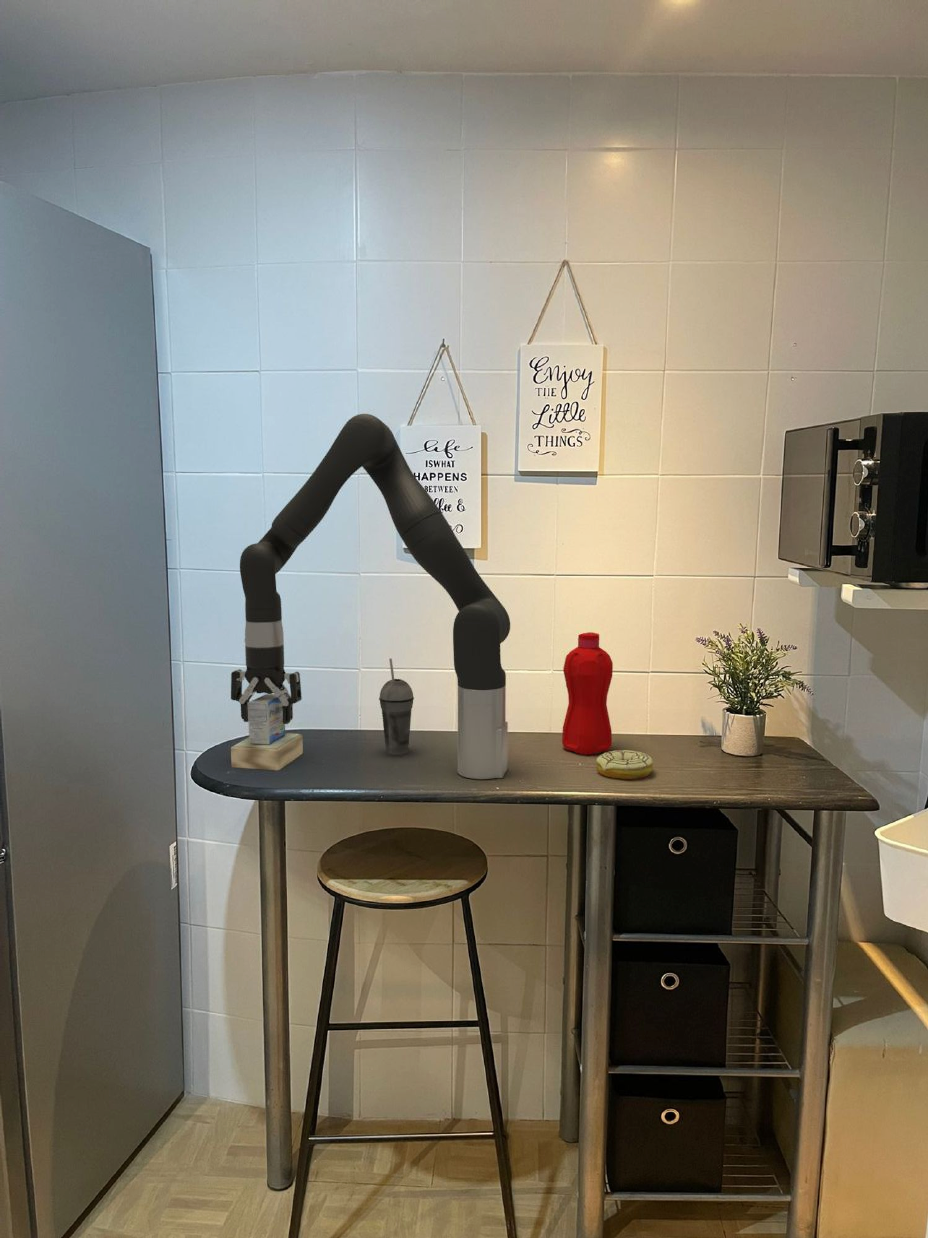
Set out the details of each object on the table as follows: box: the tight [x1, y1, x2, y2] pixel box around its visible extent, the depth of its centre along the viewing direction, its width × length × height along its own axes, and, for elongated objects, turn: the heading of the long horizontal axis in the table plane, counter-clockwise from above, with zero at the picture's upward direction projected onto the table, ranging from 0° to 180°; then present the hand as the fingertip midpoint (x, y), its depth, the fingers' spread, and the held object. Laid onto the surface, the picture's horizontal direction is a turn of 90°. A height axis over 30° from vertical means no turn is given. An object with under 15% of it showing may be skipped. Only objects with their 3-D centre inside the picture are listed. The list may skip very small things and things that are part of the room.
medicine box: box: [247, 693, 286, 745], centre depth 176 cm, size 8×4×9 cm, turn 167°
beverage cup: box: [378, 658, 415, 756], centre depth 182 cm, size 7×7×20 cm
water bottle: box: [561, 631, 614, 756], centre depth 184 cm, size 9×11×25 cm
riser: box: [230, 732, 304, 771], centre depth 177 cm, size 10×12×4 cm
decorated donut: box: [596, 749, 654, 780], centre depth 169 cm, size 10×11×4 cm
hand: (266, 722), depth 176 cm, fingers open, 8 cm apart
